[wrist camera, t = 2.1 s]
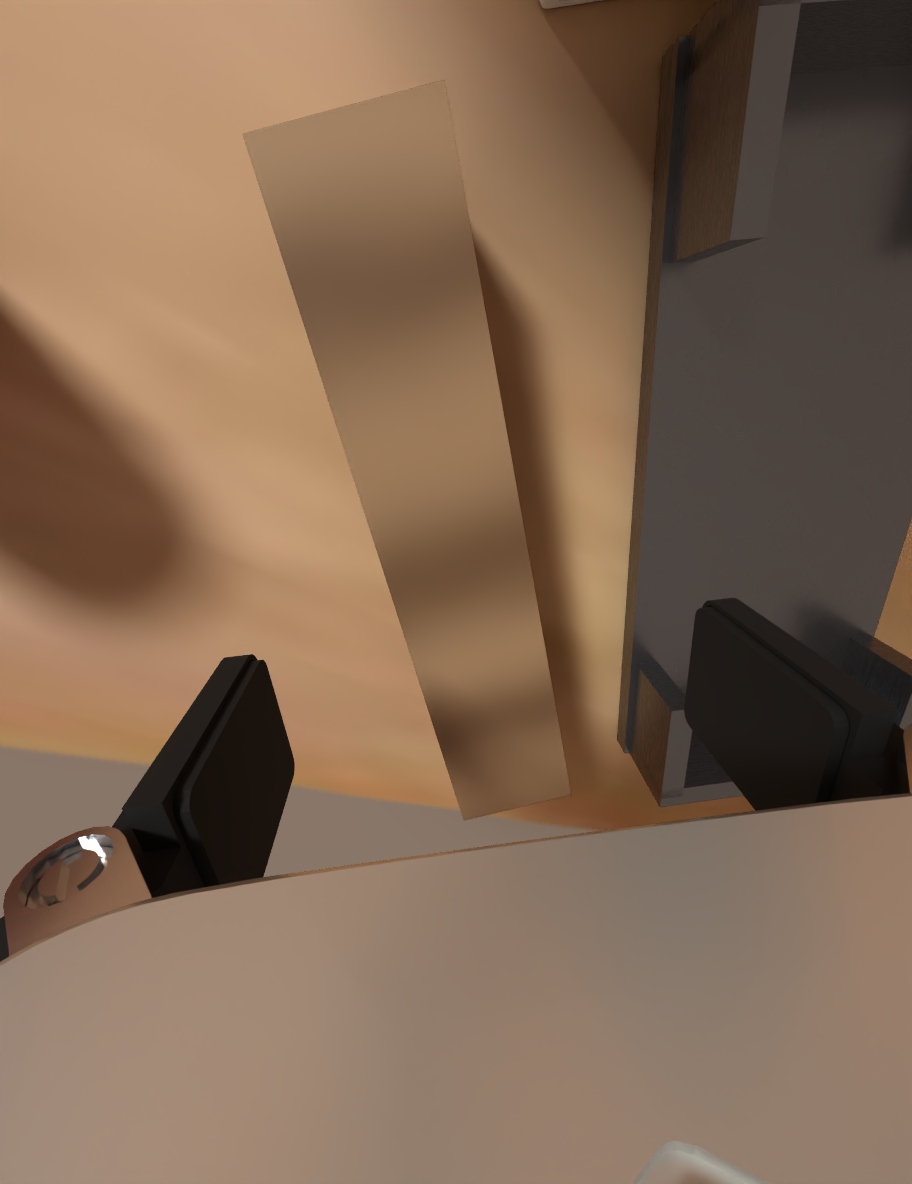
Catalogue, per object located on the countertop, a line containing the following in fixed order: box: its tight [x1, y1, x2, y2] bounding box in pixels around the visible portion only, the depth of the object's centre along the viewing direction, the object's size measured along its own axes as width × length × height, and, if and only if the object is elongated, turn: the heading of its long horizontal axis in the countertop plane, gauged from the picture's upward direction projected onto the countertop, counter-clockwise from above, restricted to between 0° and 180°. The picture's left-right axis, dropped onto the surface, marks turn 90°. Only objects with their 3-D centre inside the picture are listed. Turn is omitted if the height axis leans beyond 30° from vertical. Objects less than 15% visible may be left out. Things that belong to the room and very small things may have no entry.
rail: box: [243, 80, 571, 820], centre depth 18 cm, size 22×4×6 cm, turn 13°
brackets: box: [617, 0, 912, 807], centre depth 19 cm, size 27×12×4 cm, turn 5°
